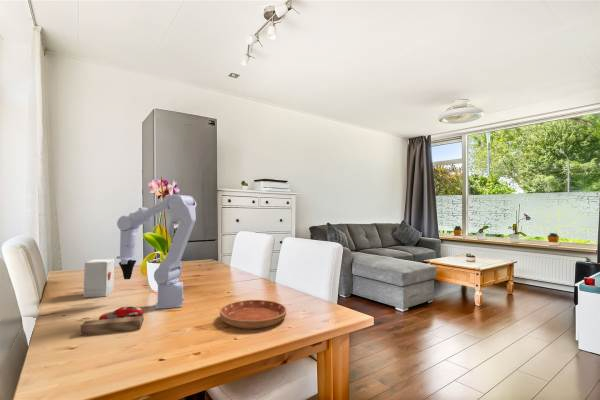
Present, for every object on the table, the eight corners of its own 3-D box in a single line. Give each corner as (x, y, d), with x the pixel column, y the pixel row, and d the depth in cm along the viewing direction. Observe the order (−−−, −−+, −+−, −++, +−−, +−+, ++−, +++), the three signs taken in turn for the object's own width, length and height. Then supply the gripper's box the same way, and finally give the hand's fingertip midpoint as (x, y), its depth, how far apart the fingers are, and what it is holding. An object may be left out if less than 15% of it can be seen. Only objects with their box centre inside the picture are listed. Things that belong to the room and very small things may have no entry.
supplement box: (106, 296, 132) (107, 261, 133) (82, 297, 130) (83, 262, 131) (114, 291, 141) (115, 258, 141) (92, 292, 139) (93, 258, 140)
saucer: (260, 304, 124) (260, 295, 124) (299, 320, 108) (299, 309, 108) (207, 318, 108) (207, 308, 108) (244, 339, 92) (245, 326, 92)
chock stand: (144, 320, 105) (144, 311, 105) (139, 329, 97) (140, 320, 97) (89, 325, 100) (90, 316, 100) (80, 335, 92) (80, 325, 92)
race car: (97, 326, 101) (97, 313, 101) (99, 320, 106) (100, 308, 106) (142, 319, 107) (142, 308, 107) (143, 314, 112) (143, 303, 112)
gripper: (121, 243, 131) (120, 275, 131) (112, 248, 117) (111, 283, 117) (139, 243, 133) (139, 274, 133) (133, 247, 120) (132, 282, 119)
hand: (127, 278), depth 125 cm, fingers closed
